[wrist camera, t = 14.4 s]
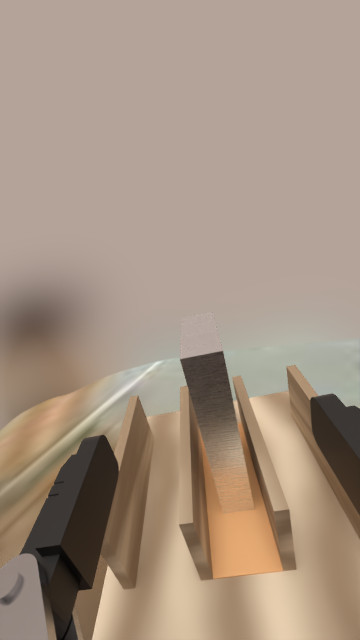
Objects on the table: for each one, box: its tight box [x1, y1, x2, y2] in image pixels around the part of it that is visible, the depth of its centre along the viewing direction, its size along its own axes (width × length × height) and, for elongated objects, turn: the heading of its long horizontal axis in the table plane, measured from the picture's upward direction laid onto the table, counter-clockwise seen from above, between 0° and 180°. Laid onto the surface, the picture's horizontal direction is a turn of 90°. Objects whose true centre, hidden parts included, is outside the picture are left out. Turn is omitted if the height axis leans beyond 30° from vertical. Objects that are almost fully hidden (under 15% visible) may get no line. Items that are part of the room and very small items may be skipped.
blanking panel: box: [180, 312, 255, 514], centre depth 19 cm, size 2×6×14 cm, turn 0°
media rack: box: [92, 365, 360, 640], centre depth 20 cm, size 19×19×7 cm
